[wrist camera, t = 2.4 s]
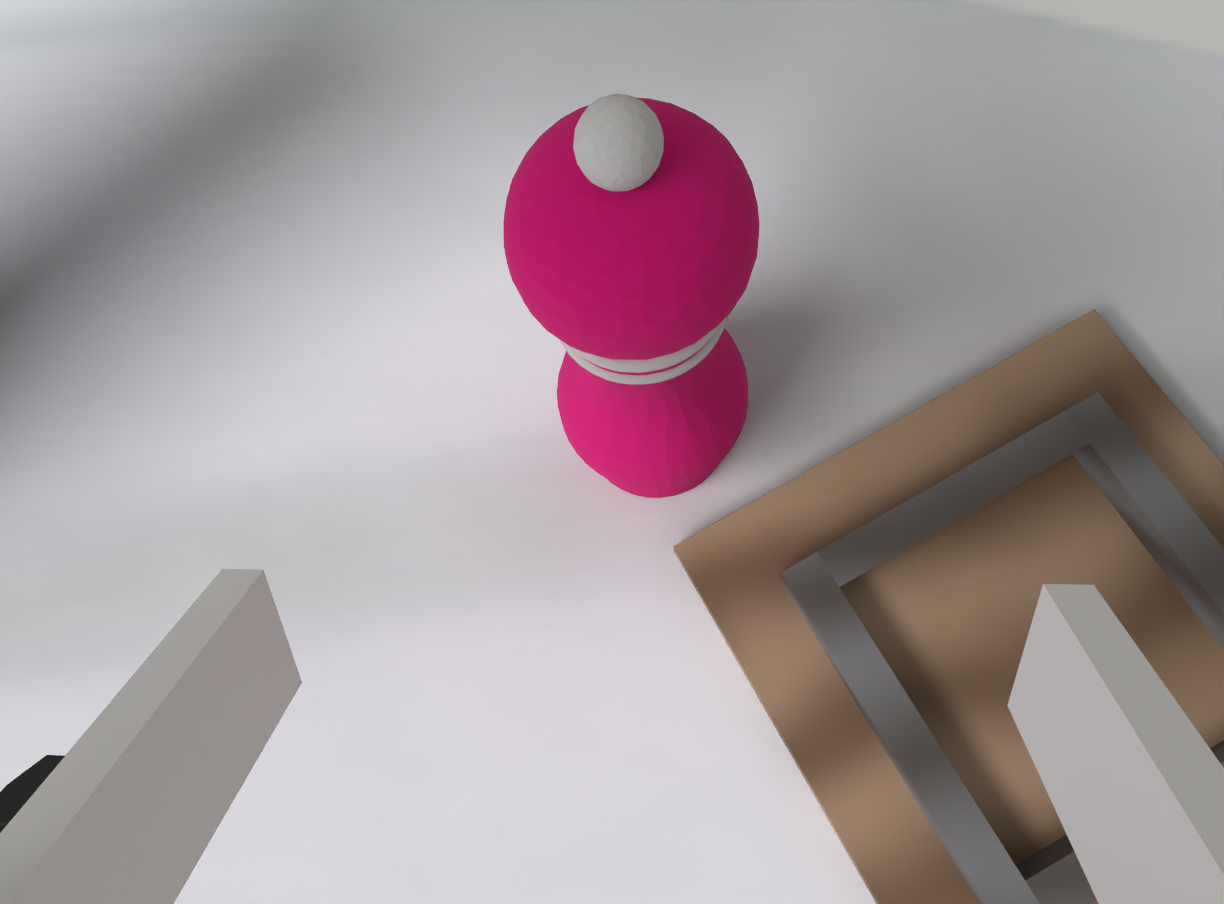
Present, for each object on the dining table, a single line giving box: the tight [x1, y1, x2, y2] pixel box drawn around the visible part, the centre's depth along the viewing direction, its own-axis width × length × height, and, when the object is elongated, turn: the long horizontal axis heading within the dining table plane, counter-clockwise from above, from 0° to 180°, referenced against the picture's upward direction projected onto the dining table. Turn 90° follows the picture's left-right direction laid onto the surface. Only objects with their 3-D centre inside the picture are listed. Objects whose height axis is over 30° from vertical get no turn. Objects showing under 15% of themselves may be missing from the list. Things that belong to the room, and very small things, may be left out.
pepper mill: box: [504, 94, 759, 498], centre depth 24 cm, size 7×7×20 cm
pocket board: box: [674, 309, 1224, 904], centre depth 28 cm, size 20×20×3 cm
